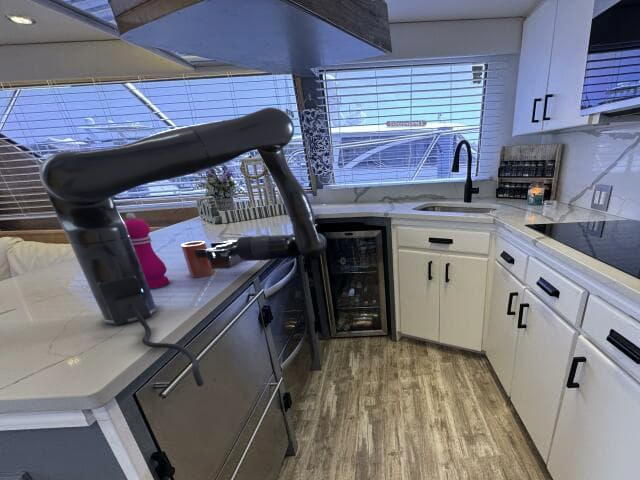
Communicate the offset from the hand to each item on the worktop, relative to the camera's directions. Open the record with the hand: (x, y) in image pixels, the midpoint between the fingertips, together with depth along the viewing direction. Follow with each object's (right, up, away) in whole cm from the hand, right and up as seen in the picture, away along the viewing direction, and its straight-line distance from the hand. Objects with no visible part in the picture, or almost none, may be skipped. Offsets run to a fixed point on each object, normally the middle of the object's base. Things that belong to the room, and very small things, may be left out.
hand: (204, 249), depth 96 cm
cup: (-2, -7, +3) cm, 8 cm away
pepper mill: (-11, -11, -5) cm, 16 cm away
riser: (-2, -2, +13) cm, 14 cm away
